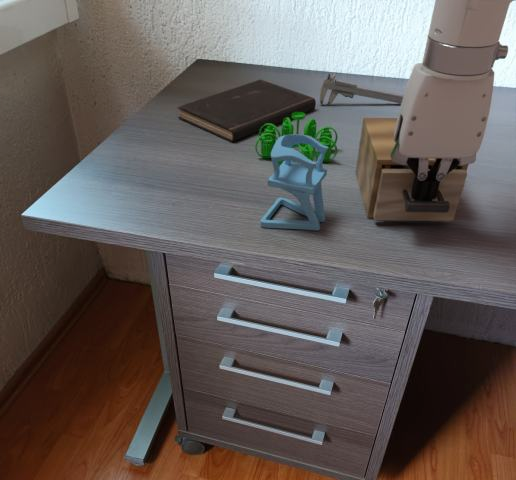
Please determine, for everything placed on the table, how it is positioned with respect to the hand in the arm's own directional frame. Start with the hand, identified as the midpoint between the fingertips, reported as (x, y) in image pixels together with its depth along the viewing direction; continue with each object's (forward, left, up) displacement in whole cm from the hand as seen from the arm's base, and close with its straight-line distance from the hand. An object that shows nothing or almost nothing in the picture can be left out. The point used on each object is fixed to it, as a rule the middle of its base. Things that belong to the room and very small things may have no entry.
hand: (421, 203), depth 72 cm
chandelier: (+16, -25, -5) cm, 30 cm away
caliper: (0, -49, -5) cm, 49 cm away
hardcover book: (+25, -43, -5) cm, 50 cm away
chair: (+17, -3, -5) cm, 18 cm away
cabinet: (0, -11, -5) cm, 12 cm away
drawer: (0, -6, -4) cm, 7 cm away
